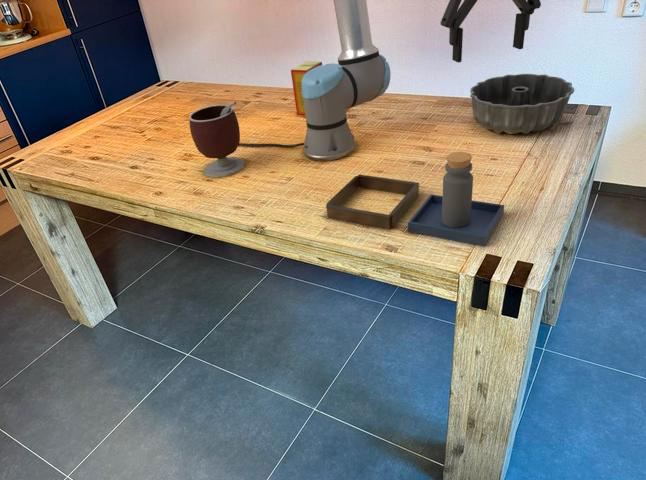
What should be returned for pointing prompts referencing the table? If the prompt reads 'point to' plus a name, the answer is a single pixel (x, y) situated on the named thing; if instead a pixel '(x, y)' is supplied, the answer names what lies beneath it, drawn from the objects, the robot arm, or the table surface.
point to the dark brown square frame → (369, 217)
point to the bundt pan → (520, 102)
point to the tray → (473, 233)
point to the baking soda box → (297, 83)
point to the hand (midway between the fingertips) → (487, 54)
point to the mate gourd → (217, 138)
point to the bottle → (457, 190)
